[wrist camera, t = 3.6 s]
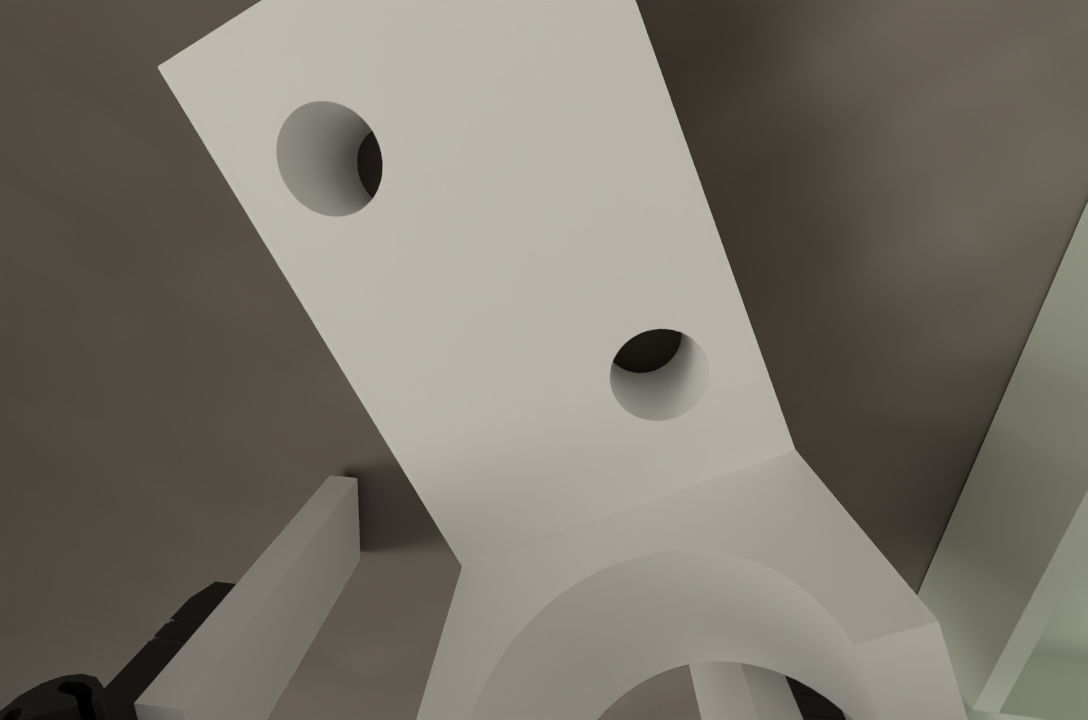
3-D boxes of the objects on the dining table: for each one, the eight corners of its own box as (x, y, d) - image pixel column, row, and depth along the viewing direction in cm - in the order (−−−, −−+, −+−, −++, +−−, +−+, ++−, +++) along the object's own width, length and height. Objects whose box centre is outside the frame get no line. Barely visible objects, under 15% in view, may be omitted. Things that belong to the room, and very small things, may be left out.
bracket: (770, 465, 14) (983, 772, 6) (529, 549, 15) (485, 882, 8) (569, -69, 10) (554, -669, 3) (279, 102, 12) (-209, -38, 4)
